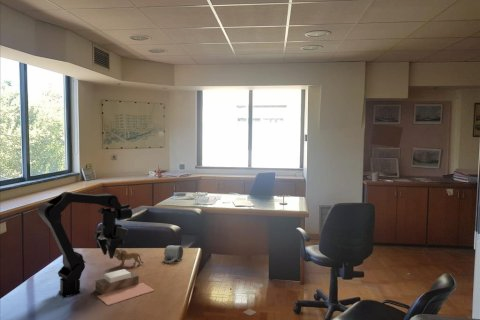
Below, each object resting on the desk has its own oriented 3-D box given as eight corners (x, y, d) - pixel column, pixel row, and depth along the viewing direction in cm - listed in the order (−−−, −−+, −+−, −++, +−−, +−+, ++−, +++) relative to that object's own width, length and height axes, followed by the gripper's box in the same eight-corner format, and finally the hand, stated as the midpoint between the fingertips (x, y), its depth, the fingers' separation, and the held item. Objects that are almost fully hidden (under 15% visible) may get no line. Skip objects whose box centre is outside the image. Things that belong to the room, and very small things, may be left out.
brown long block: (102, 295, 139) (102, 285, 139) (95, 289, 144) (95, 280, 144) (138, 284, 150) (138, 275, 150) (131, 279, 155) (131, 271, 155)
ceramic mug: (170, 256, 189) (170, 242, 188) (183, 258, 186) (183, 244, 186) (160, 262, 179) (160, 248, 178) (174, 264, 176) (174, 250, 176)
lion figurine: (113, 268, 169) (113, 250, 168) (113, 264, 174) (113, 247, 174) (144, 265, 173) (144, 248, 173) (143, 262, 178) (143, 245, 178)
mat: (107, 305, 131) (107, 304, 131) (97, 296, 138) (97, 296, 138) (154, 290, 145) (154, 290, 145) (142, 283, 152) (142, 282, 152)
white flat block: (110, 283, 142) (110, 278, 142) (104, 278, 146) (104, 274, 146) (130, 277, 148) (130, 272, 148) (124, 273, 152) (124, 269, 152)
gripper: (135, 223, 152) (134, 258, 153) (116, 216, 165) (116, 248, 166) (110, 227, 144) (110, 263, 145) (93, 219, 157) (93, 252, 158)
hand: (108, 256), depth 154 cm, fingers open, 6 cm apart
